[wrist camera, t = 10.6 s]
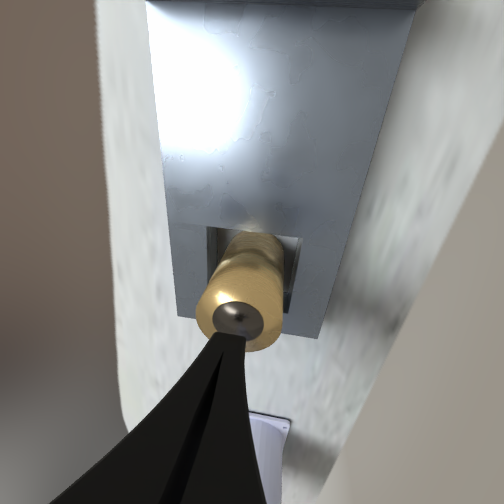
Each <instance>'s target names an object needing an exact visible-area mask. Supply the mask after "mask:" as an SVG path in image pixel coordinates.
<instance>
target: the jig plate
mask: <svg viewBox="0 0 504 504" xmlns="http://www.w3.org/2000/svg"><path fill="white" fill-rule="evenodd" d="M425 1H426V0H146V8H147V18H148V28H149V38H150V48H151V58H152V68H153V77H154V87H155V97H156V107H157V117H158V127H159V137H160V147H161V157H162V166H163V176H164V186H165V196H166V206H167V216H168V226H169V236H170V246H171V255H172V265H173V275H174V285H175V295H176V305H177V315H178V316H181V317H187V318H193V319H196V307H197V304H198V302H199V300H200V298H201V296H202V294H203V293H204V291H205V289H206V287H207V285H208V283H209V281H210V279H211V277H212V276H213V274H214V272H215V270H216V268H217V227H218V228H226V229H234V230H242V231H250V232H258V233H265V234H273V235H281V236H289V237H297V238H298V244H297V249H296V254H295V259H294V265H293V270H292V275H291V281H290V286H289V291H288V293H287V292H283V323H282V331H281V333H284V334H290V335H296V336H302V337H308V338H314V339H318V335H319V332H320V329H321V325H322V322H323V319H324V315H325V312H326V309H327V305H328V302H329V299H330V295H331V292H332V289H333V285H334V282H335V279H336V275H337V272H338V269H339V265H340V262H341V259H342V255H343V252H344V249H345V245H346V242H347V239H348V235H349V232H350V229H351V225H352V222H353V219H354V215H355V212H356V209H357V205H358V202H359V199H360V195H361V192H362V189H363V185H364V182H365V179H366V175H367V172H368V169H369V165H370V162H371V159H372V155H373V152H374V148H375V145H376V142H377V138H378V135H379V132H380V128H381V125H382V122H383V118H384V115H385V112H386V108H387V105H388V102H389V98H390V95H391V92H392V88H393V85H394V82H395V78H396V75H397V72H398V68H399V65H400V62H401V58H402V55H403V52H404V48H405V45H406V42H407V38H408V35H409V32H410V28H411V25H412V22H413V18H414V15H415V12H416V10H417V9H418V8H419V7H420V6H421V5H422V4H423V3H424V2H425Z"/></svg>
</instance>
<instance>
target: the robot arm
mask: <svg viewBox="0 0 504 504" xmlns="http://www.w3.org/2000/svg"><path fill="white" fill-rule="evenodd" d="M245 349H246V338H245V337H244V336H239V335H233V334H227V333H221V332H215V333H213V335H212V336H211V338H210V339H209V341H208V342H207V344H206V345H205V347H204V348H203V350H202V351H201V352H200V354H199V355H198V357H197V358H196V359H195V361H194V362H193V363H192V364H191V366H190V367H189V368H188V369H187V371H186V372H185V373H184V374H183V376H182V377H181V378H180V379H179V381H178V382H177V383H176V384H175V385H174V386H173V387H172V389H171V390H170V391H169V392H168V393H167V394H166V395H165V397H164V398H163V399H162V400H161V401H160V402H159V403H158V404H157V405H156V406H155V407H154V409H153V410H152V411H151V412H150V413H149V414H148V415H147V416H146V417H145V418H144V419H143V420H142V421H141V422H140V423H139V424H138V425H137V426H136V427H135V428H134V429H133V430H132V431H131V432H130V433H129V434H128V435H127V436H125V437H124V439H122V440H121V441H120V442H119V443H118V444H117V445H116V446H115V447H114V448H113V449H112V450H111V451H110V452H108V453H107V454H106V455H105V456H104V457H103V458H102V459H101V460H100V461H98V463H96V464H95V465H94V466H93V467H92V468H90V469H89V470H88V471H87V472H86V473H85V474H83V475H82V476H81V477H80V478H79V479H78V480H76V481H75V482H74V483H73V484H72V485H71V486H69V487H68V488H67V489H66V490H65V491H64V492H62V493H61V494H60V495H59V496H58V497H56V498H55V499H54V500H53V501H52V502H50V504H281V497H282V452H283V448H284V445H285V441H286V438H287V435H288V431H289V428H290V422H289V421H288V420H285V419H280V418H275V417H270V416H265V415H260V414H255V413H250V412H249V411H248V403H247V395H246V383H245V368H244V359H245Z"/></svg>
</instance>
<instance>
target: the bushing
mask: <svg viewBox="0 0 504 504" xmlns="http://www.w3.org/2000/svg"><path fill="white" fill-rule="evenodd" d="M283 283H284V251H283V248H282V245H281V244H280V242H279V241H278V240H277V239H276V237H274V236H273V235H272V234H265V233H258V232H250V231H242V232H240V233H239V234H237V235H236V236H235V237H234V238H233V239H232V240H231V242H230V243H229V245H228V247H227V249H226V251H225V253H224V255H223V257H222V259H221V260H220V262H219V264H218V266H217V268H216V270H215V272H214V274H213V276H212V277H211V279H210V281H209V283H208V285H207V287H206V289H205V291H204V293H203V294H202V296H201V298H200V300H199V302H198V304H197V307H196V320H197V323H198V326H199V328H200V329H201V331H202V332H203V333H204V335H205V336H206V337H207V338H208V339H210V338H211V336H212V335H213V333H215V332H221V333H227V334H233V335H239V336H244V337H245V338H246V349H245V352H254V351H259V350H262V349H265V348H267V347H269V346H270V345H272V344H273V343H274V342H275V341H276V340H277V339H278V337H279V336H280V334H281V331H282V323H283Z"/></svg>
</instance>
